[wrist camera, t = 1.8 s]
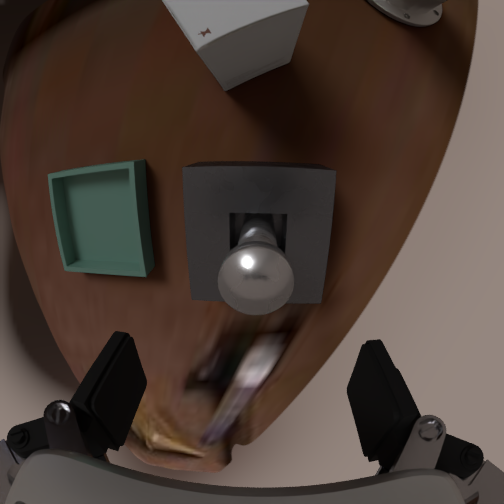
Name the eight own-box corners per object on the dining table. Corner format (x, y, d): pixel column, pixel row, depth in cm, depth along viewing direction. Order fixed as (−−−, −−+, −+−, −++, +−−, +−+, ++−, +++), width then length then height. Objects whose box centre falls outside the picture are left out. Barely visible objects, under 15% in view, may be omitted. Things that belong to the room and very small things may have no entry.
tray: (62, 170, 26) (47, 174, 23) (145, 159, 26) (133, 161, 23) (76, 261, 31) (64, 270, 28) (154, 265, 30) (146, 276, 28)
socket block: (199, 161, 26) (182, 167, 20) (320, 164, 25) (336, 170, 20) (203, 271, 30) (191, 299, 25) (311, 273, 30) (321, 303, 24)
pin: (236, 200, 26) (216, 247, 15) (281, 202, 26) (296, 249, 15) (236, 243, 28) (219, 313, 17) (279, 244, 28) (290, 315, 16)
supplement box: (292, 63, 21) (314, 6, 10) (224, 93, 23) (192, 54, 11) (257, 11, 19) (253, -61, 7) (192, 39, 21) (146, -17, 9)
